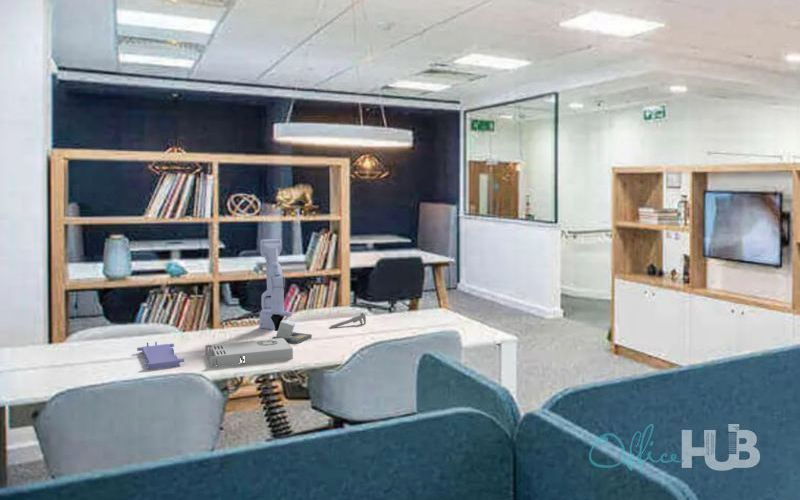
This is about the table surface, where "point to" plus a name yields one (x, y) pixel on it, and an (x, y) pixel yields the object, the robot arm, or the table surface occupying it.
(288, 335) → the skincare box
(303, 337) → the u bracket
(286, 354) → the power supply unit
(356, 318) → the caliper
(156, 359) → the computer part
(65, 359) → the table surface
